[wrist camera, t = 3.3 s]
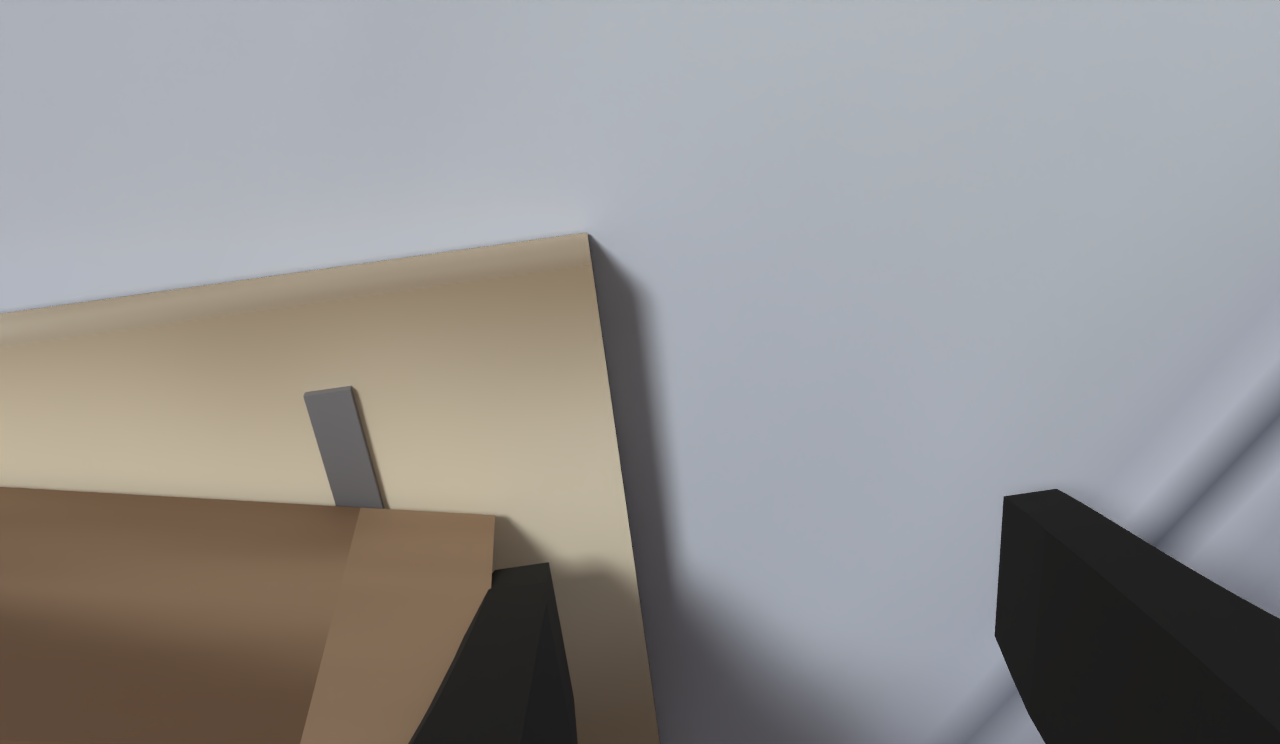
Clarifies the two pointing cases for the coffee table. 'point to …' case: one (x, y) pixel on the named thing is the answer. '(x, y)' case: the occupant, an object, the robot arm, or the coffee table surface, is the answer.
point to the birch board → (363, 418)
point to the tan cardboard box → (228, 618)
